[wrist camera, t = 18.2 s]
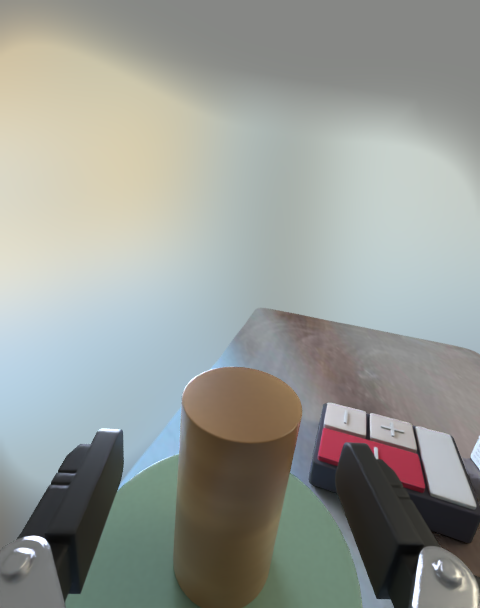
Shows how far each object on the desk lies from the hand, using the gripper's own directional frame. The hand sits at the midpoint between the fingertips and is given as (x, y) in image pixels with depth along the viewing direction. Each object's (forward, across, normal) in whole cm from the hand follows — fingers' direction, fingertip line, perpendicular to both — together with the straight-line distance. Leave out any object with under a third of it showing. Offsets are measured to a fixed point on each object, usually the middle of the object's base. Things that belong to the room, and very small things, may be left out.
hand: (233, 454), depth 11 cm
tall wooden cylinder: (+3, 0, +10) cm, 10 cm away
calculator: (+18, -19, +19) cm, 32 cm away
